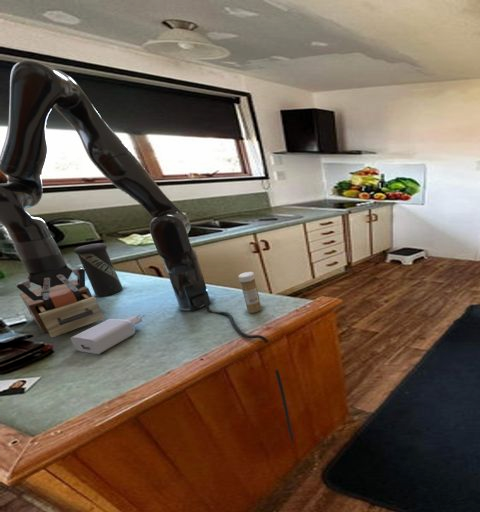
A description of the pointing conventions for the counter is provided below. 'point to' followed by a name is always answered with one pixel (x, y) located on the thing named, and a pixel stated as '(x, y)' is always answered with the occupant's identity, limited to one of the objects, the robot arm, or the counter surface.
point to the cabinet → (32, 304)
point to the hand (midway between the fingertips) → (66, 305)
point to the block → (62, 298)
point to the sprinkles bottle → (250, 292)
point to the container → (99, 269)
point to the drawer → (70, 315)
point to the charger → (105, 334)
